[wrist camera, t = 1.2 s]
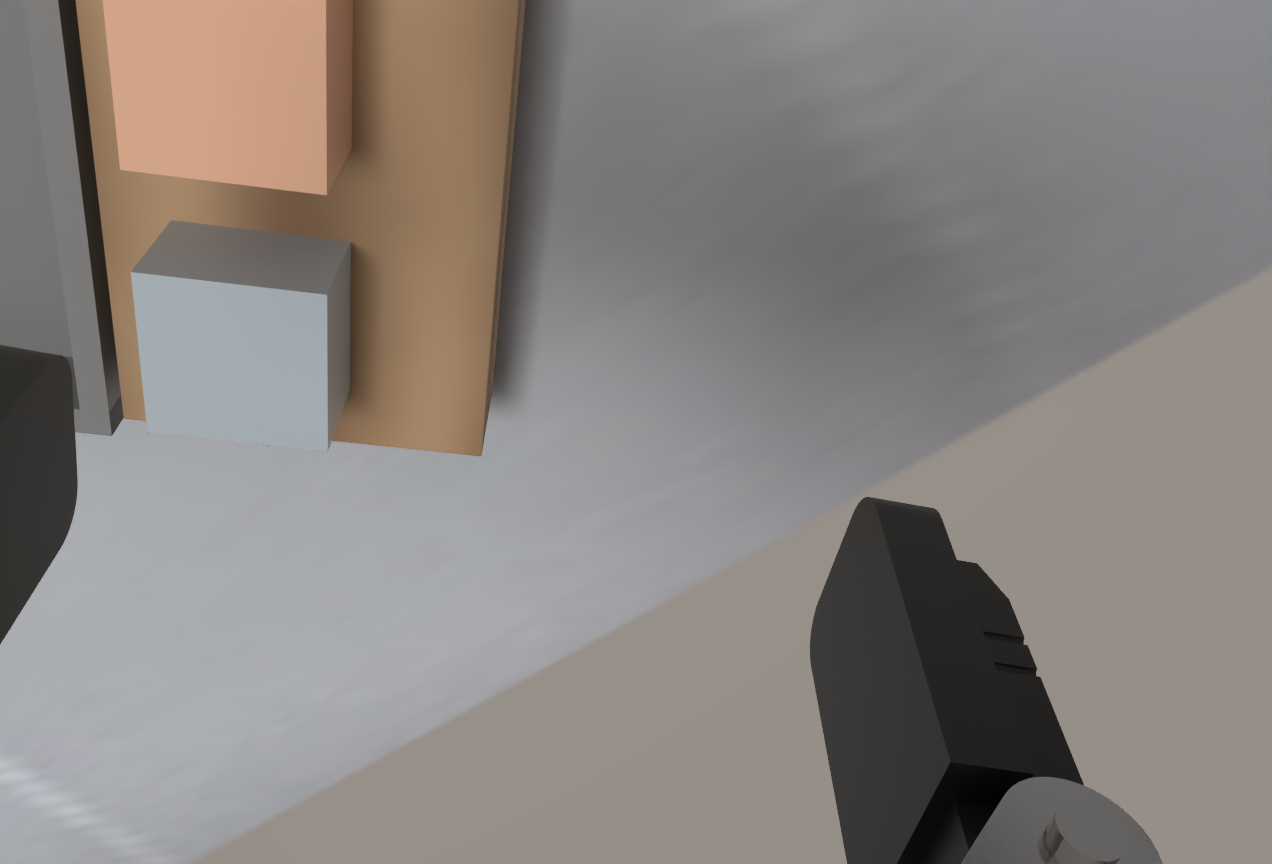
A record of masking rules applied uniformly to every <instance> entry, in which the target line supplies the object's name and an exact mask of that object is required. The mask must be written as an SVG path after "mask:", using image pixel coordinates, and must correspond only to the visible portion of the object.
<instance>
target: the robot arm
mask: <svg viewBox="0 0 1272 864" xmlns="http://www.w3.org/2000/svg"><path fill="white" fill-rule="evenodd" d="M76 498H77V462H76V443H75V424H74V405H73V386H72V373H71V369H70V365H69V362H68V361H67V359H66V358H65V357H64V356H62V355H56V354H51V353H45V352H39V351H33V350H28V349H22V348H16V347H10V346H4V345H0V644H1V642H2V641H3V639H4V638H5V636H6V634H7V633H8V631H9V630H10V628H11V626H12V625H13V623H14V622H15V620H16V618H17V617H18V615H19V614H20V612H21V610H22V609H23V607H24V606H25V604H26V602H27V601H28V599H29V598H30V596H31V594H32V593H33V591H34V590H35V588H36V586H37V585H38V583H39V582H40V580H41V579H42V577H43V575H44V574H45V572H46V571H47V569H48V567H49V566H50V564H51V563H52V561H53V559H54V558H55V556H56V555H57V553H58V551H59V550H60V548H61V546H62V545H63V543H64V541H65V539H66V536H67V534H68V531H69V529H70V525H71V522H72V519H73V515H74V510H75V505H76ZM810 641H811V642H810V659H811V667H812V673H813V678H814V684H815V689H816V695H817V700H818V706H819V711H820V716H821V722H822V728H823V733H824V738H825V744H826V749H827V755H828V760H829V766H830V771H831V776H832V782H833V788H834V793H835V799H836V804H837V810H838V815H839V821H840V826H841V832H842V837H843V843H844V848H845V854H846V859H847V864H1162V861H1161V859H1160V856H1159V854H1158V852H1157V850H1156V848H1155V846H1154V844H1153V843H1152V841H1151V839H1150V838H1149V837H1148V835H1147V834H1146V833H1145V831H1144V830H1143V829H1142V827H1141V826H1140V825H1138V823H1137V822H1136V821H1135V820H1134V819H1133V818H1132V817H1131V816H1130V815H1129V814H1128V813H1126V812H1125V811H1124V810H1123V809H1122V808H1121V807H1119V806H1118V805H1117V804H1115V803H1114V802H1112V801H1111V800H1110V799H1108V798H1107V797H1105V796H1103V795H1101V794H1099V793H1097V792H1096V791H1094V790H1093V789H1090V788H1088V787H1086V786H1084V785H1083V782H1082V779H1081V777H1080V774H1079V772H1078V769H1077V767H1076V765H1075V762H1074V759H1073V757H1072V754H1071V752H1070V749H1069V747H1068V745H1067V742H1066V740H1065V737H1064V735H1063V732H1062V730H1061V727H1060V725H1059V722H1058V720H1057V717H1056V715H1055V712H1054V710H1053V707H1052V705H1051V702H1050V700H1049V698H1048V695H1047V693H1046V690H1045V688H1044V685H1043V683H1042V680H1041V678H1040V677H1037V676H1036V670H1037V668H1036V665H1035V663H1034V660H1033V658H1032V655H1031V653H1030V650H1029V648H1028V646H1027V645H1024V644H1023V641H1024V635H1023V633H1022V630H1021V628H1020V625H1019V623H1018V620H1017V618H1016V616H1015V613H1014V611H1013V608H1012V606H1011V603H1010V601H1009V599H1008V598H1007V597H1006V596H1005V595H1004V593H1003V592H1002V591H1001V590H1000V589H999V588H998V587H997V585H996V584H995V583H994V582H993V581H992V580H991V579H990V578H989V576H988V575H987V574H986V573H985V572H984V571H983V570H982V569H981V567H979V565H978V564H977V563H971V562H965V561H959V560H957V559H956V557H955V554H954V551H953V548H952V545H951V543H950V540H949V537H948V534H947V532H946V529H945V526H944V523H943V521H942V518H941V516H940V514H939V512H938V511H937V510H936V509H934V508H929V507H923V506H917V505H911V504H906V503H899V502H894V501H888V500H882V499H876V498H871V497H866V498H863V499H862V500H861V501H860V503H859V504H858V505H857V507H856V509H855V511H854V513H853V516H852V518H851V520H850V523H849V526H848V528H847V531H846V533H845V536H844V538H843V541H842V543H841V546H840V549H839V551H838V553H837V556H836V558H835V561H834V563H833V566H832V568H831V571H830V574H829V576H828V579H827V581H826V584H825V586H824V589H823V591H822V594H821V597H820V599H819V601H818V604H817V607H816V611H815V614H814V619H813V624H812V630H811V640H810Z"/></svg>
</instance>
